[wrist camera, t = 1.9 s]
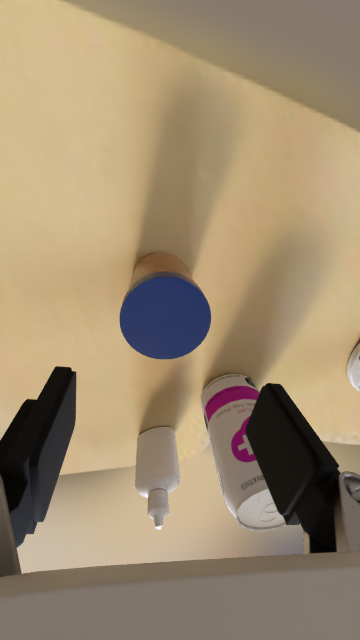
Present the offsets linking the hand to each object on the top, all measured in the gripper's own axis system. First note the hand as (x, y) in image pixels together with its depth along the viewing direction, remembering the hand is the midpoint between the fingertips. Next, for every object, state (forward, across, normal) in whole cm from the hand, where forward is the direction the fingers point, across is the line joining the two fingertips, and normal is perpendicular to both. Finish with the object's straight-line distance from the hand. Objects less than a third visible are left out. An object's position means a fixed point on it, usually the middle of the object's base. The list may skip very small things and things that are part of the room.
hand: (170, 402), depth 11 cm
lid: (+9, 0, 0) cm, 9 cm away
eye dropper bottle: (+19, -4, +24) cm, 31 cm away
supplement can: (+19, -12, +15) cm, 27 cm away
